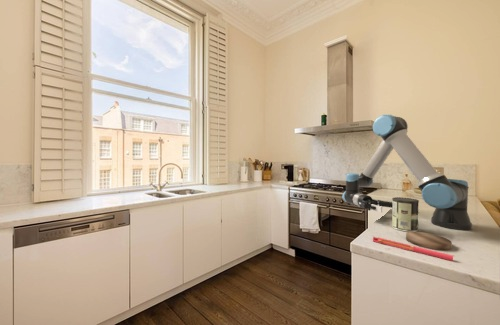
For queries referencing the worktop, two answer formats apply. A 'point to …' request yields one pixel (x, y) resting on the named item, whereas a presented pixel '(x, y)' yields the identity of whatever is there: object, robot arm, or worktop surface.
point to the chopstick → (414, 248)
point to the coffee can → (405, 214)
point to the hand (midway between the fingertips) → (393, 209)
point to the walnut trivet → (429, 240)
